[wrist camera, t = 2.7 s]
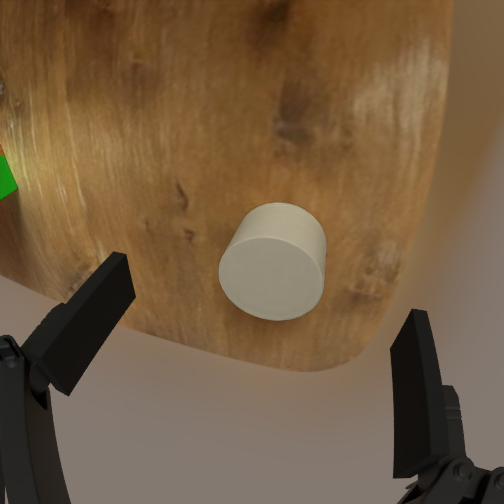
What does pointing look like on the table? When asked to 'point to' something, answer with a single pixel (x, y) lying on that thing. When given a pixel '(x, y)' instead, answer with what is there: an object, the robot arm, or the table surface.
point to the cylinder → (275, 262)
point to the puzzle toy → (5, 178)
